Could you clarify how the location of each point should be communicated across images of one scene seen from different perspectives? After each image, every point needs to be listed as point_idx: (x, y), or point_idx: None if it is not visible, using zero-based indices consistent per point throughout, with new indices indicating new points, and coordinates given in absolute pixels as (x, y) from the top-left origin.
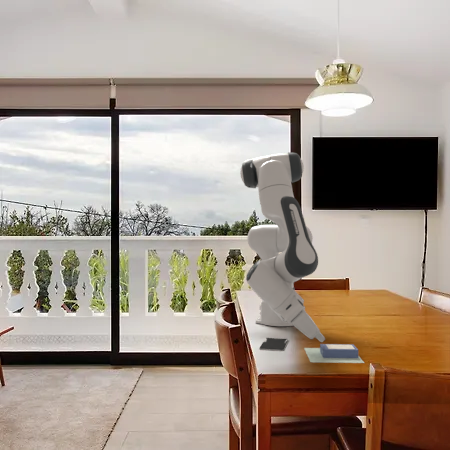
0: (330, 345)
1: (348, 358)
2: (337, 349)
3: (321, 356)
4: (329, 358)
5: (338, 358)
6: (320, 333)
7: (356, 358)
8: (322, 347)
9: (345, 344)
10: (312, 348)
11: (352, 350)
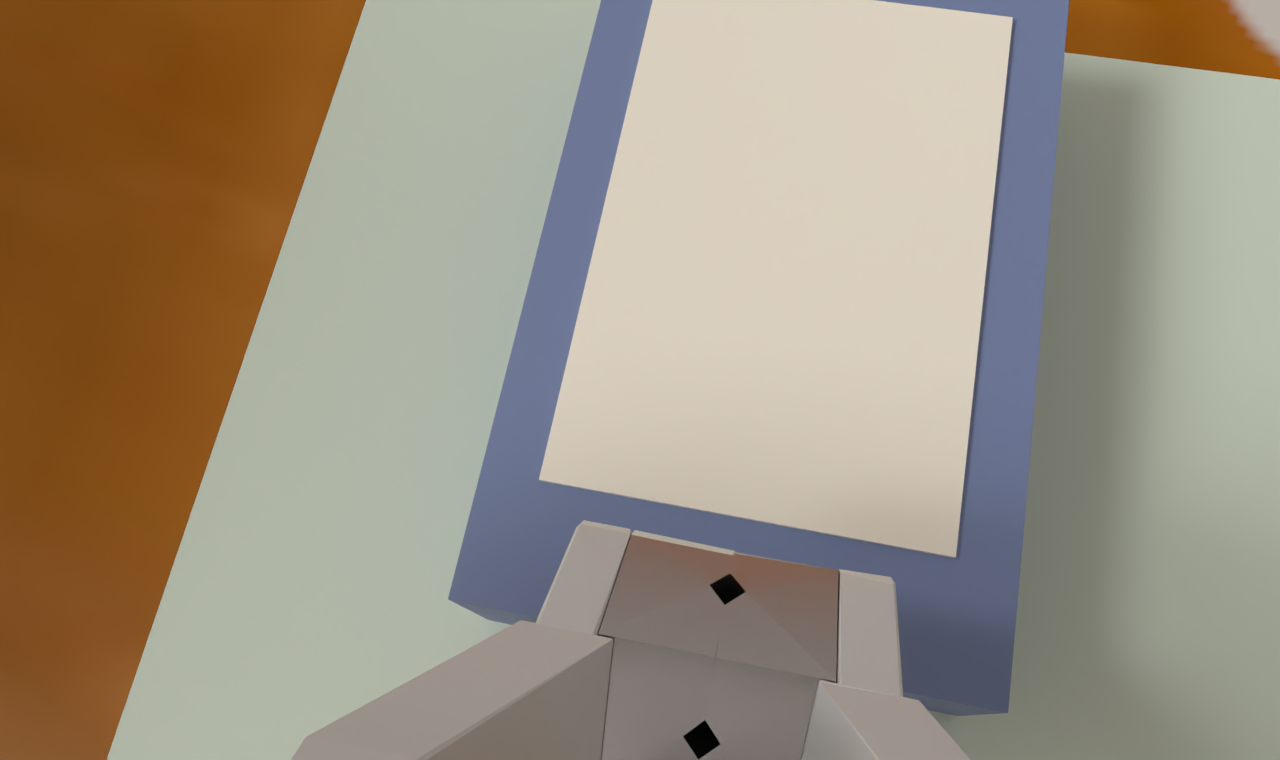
0: (652, 403)
1: None
2: (1018, 368)
3: None
4: (1021, 603)
5: None
6: (964, 753)
7: None
8: None
9: (599, 65)
10: (178, 688)
11: (1056, 87)
